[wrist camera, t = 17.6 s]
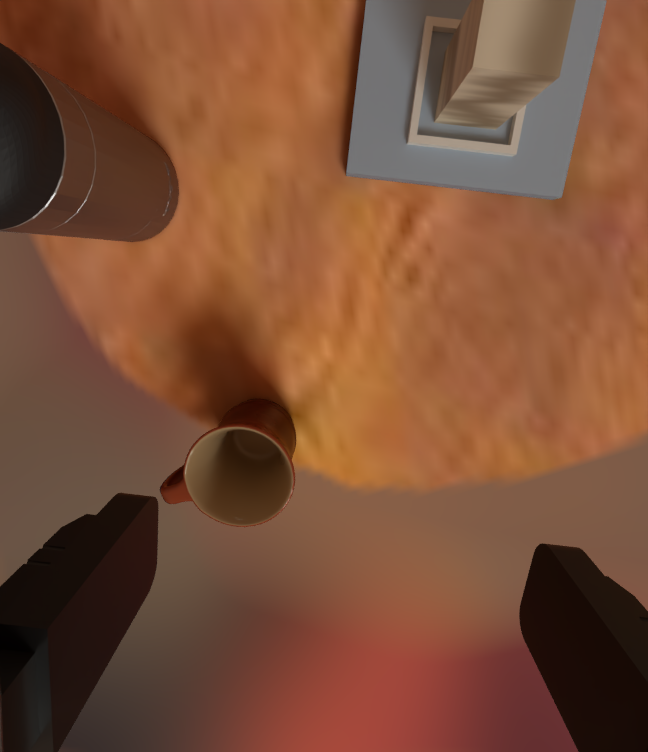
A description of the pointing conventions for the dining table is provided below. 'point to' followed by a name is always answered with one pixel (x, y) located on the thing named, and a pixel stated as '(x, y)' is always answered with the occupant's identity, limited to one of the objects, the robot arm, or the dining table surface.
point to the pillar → (501, 59)
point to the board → (453, 142)
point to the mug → (239, 466)
